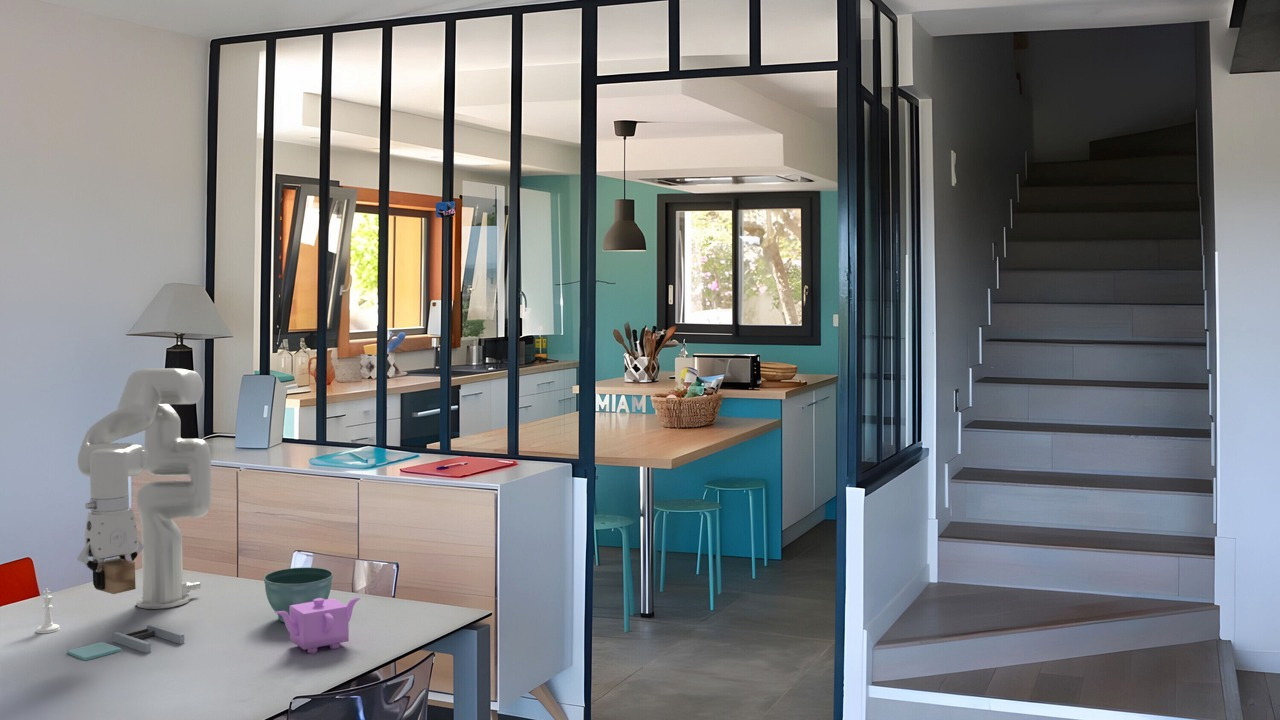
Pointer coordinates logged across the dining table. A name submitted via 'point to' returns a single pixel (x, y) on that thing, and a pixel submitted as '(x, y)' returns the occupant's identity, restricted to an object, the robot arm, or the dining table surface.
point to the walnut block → (118, 575)
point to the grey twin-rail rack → (135, 637)
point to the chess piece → (47, 616)
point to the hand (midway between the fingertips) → (112, 585)
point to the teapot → (319, 623)
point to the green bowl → (296, 587)
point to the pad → (93, 651)
